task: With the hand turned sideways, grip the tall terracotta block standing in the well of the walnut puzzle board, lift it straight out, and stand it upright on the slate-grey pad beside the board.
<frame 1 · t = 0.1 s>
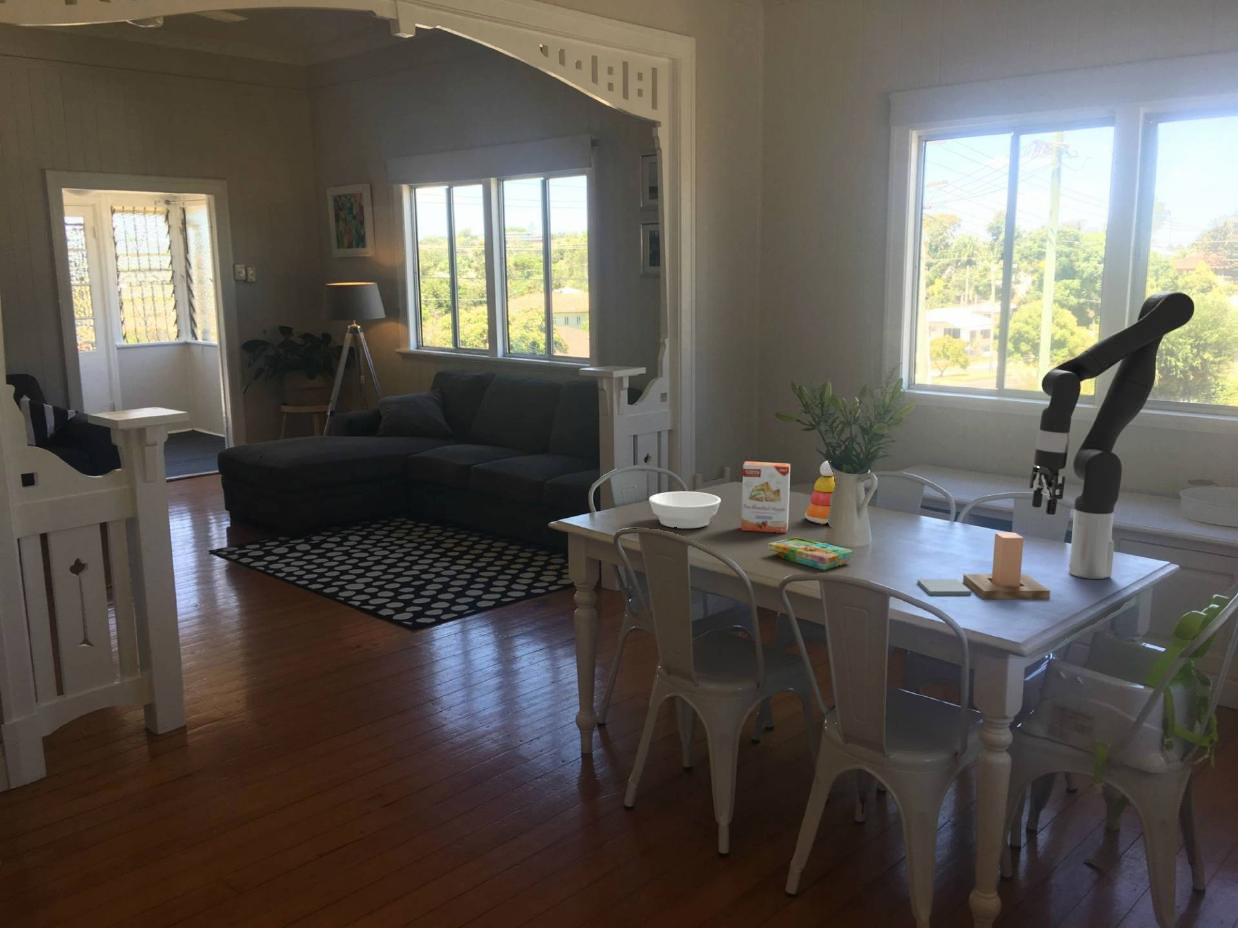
hand: (1043, 510, 259), 17 cm above the table, tool pointing down, fingers open, 8 cm apart
cracker box: (764, 530, 308), on the table
bowl: (684, 525, 316), on the table
puzzle game: (809, 561, 276), on the table
stacking toy: (827, 521, 321), on the table
terracotta block: (1005, 590, 249), resting in walnut puzzle board
walnut puzzle board: (1005, 589, 249), on the table
slate pad: (943, 588, 250), on the table
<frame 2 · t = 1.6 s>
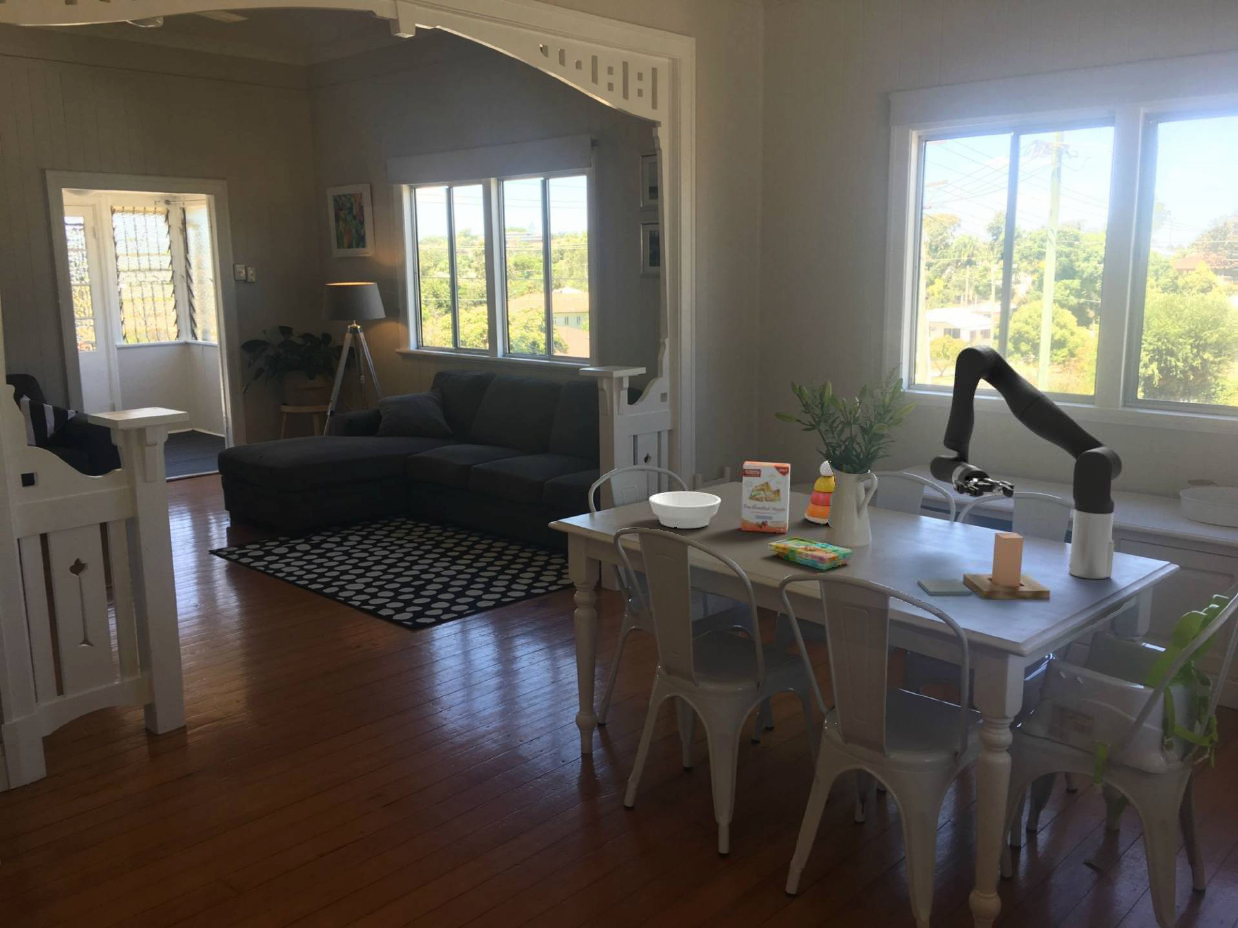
hand: (994, 493, 256), 22 cm above the table, tool horizontal, fingers open, 8 cm apart
nothing on the table moved.
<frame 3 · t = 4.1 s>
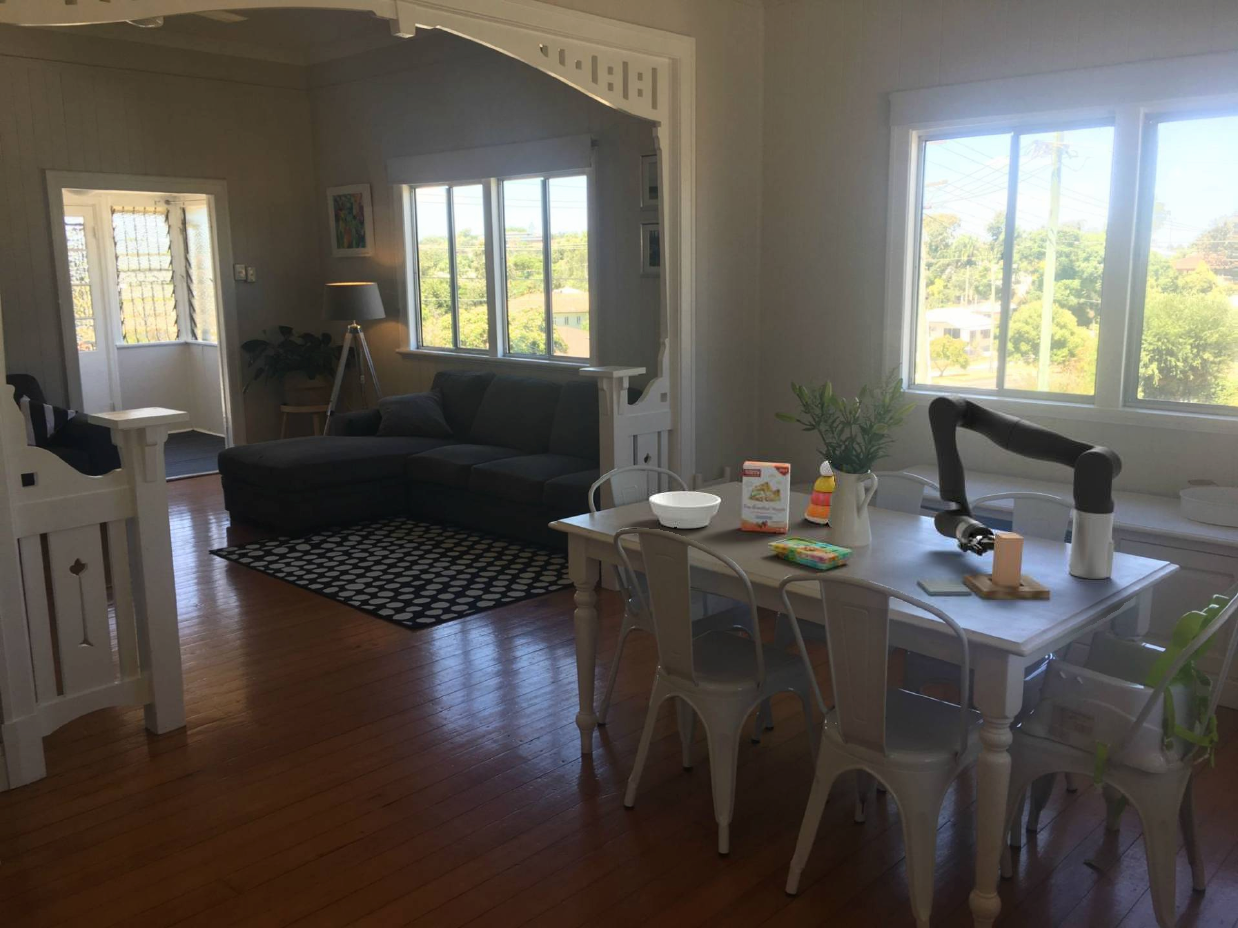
hand: (998, 552, 254), 8 cm above the table, tool horizontal, fingers open, 8 cm apart
nothing on the table moved.
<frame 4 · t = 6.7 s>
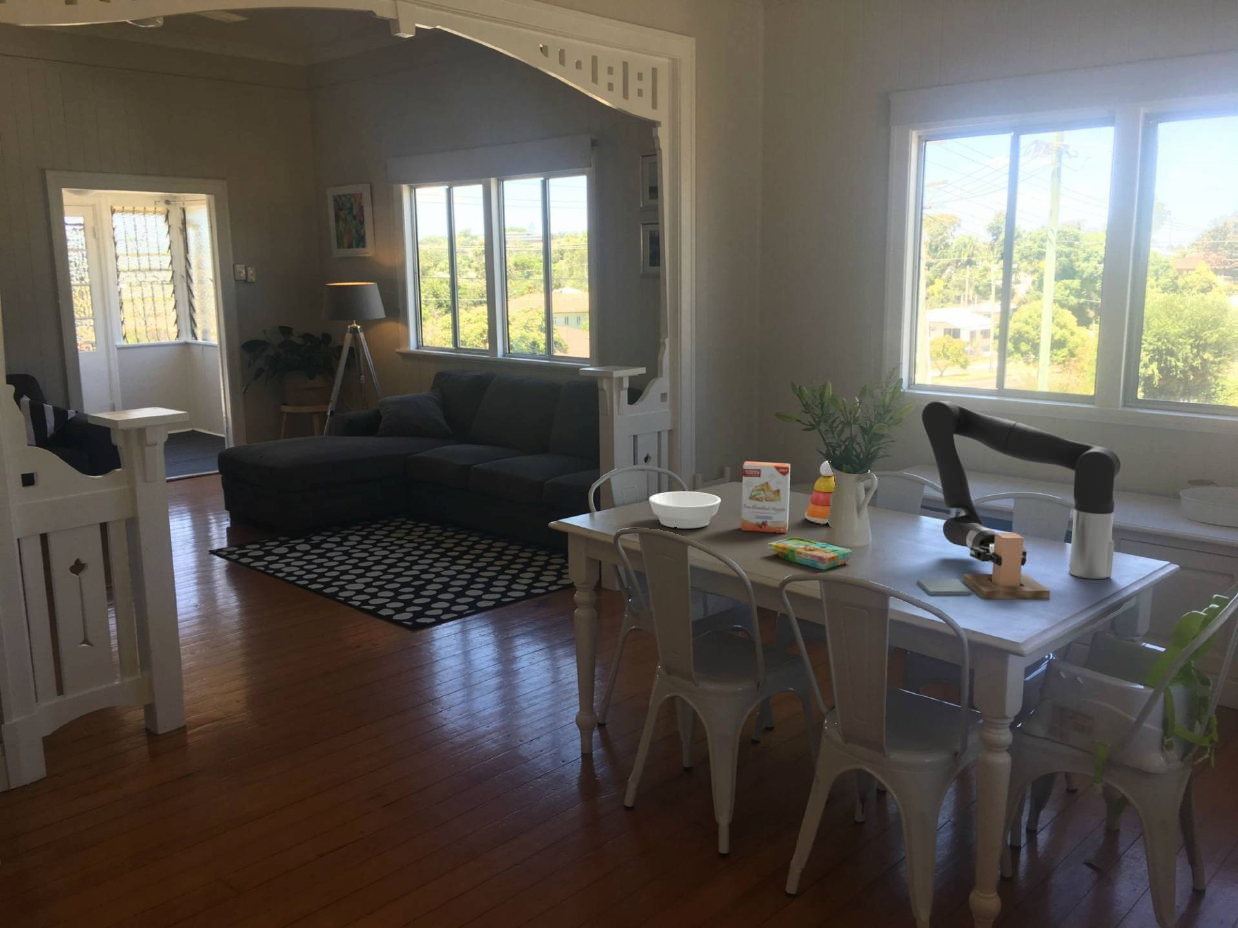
hand: (1011, 561, 245), 8 cm above the table, tool horizontal, fingers closed on terracotta block, 5 cm apart
terracotta block: (1005, 589, 249), resting in walnut puzzle board, touching gripper
everything else where it was.
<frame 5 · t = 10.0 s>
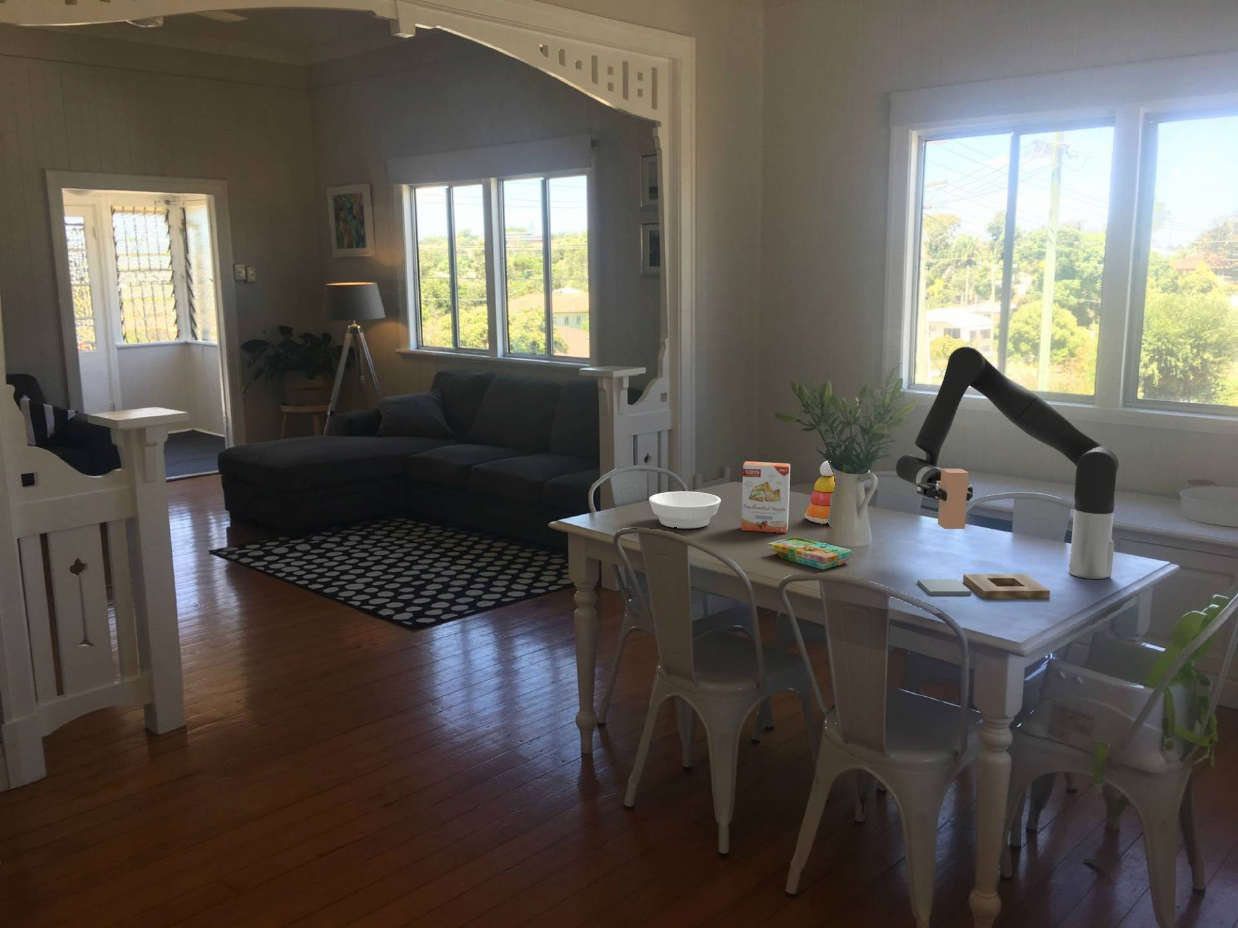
hand: (956, 496, 243), 24 cm above the table, tool horizontal, fingers closed on terracotta block, 5 cm apart
terracotta block: (951, 526, 247), point 16 cm above the table, touching gripper
everything else where it was.
when the fingers open (10 cm above the table, at t = 13.7 s): terracotta block drops 1 cm, resting on slate pad.
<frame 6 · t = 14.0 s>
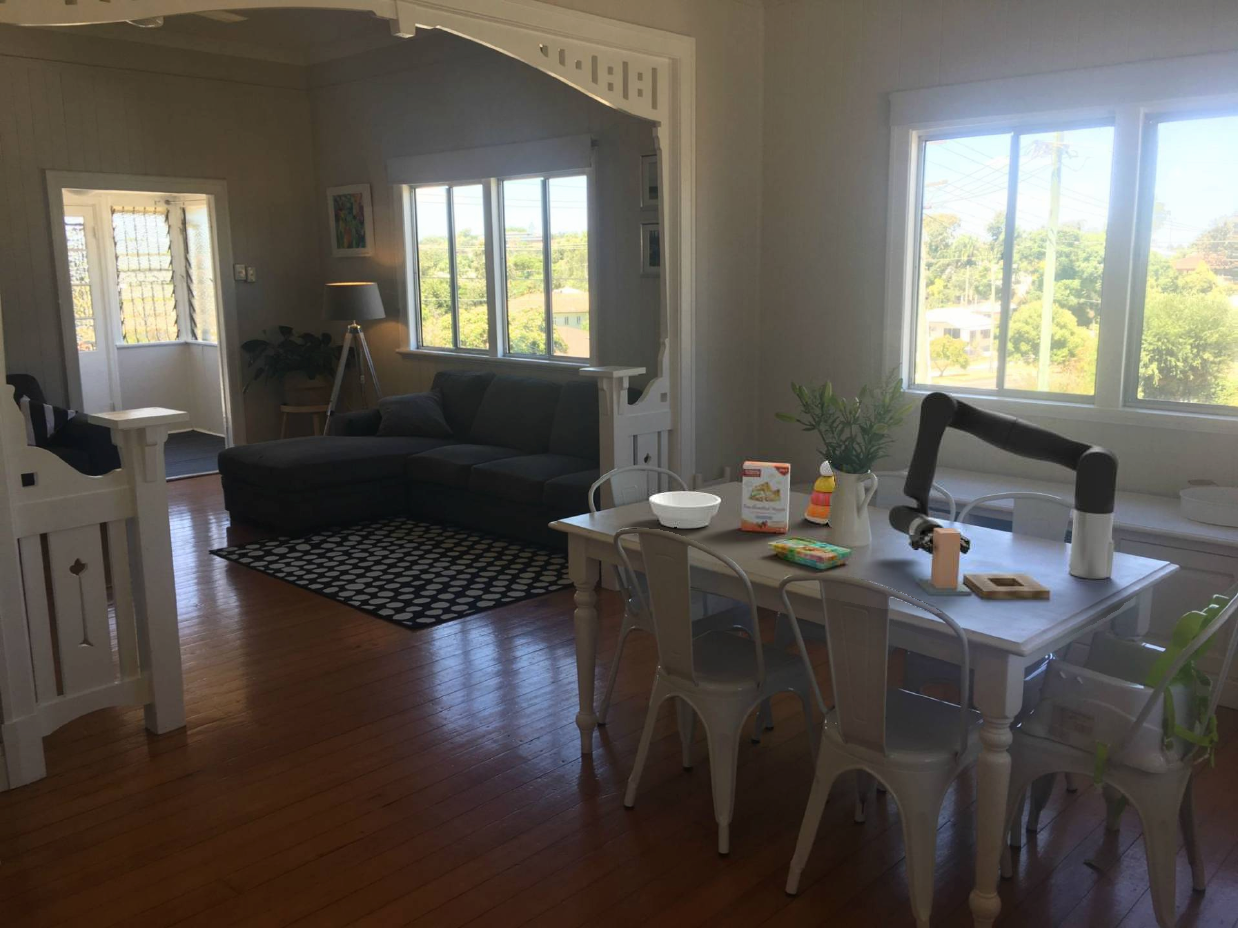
hand: (948, 550, 246), 11 cm above the table, tool horizontal, fingers open, 8 cm apart
terracotta block: (943, 585, 250), point 1 cm above the table, touching slate pad
everything else where it was.
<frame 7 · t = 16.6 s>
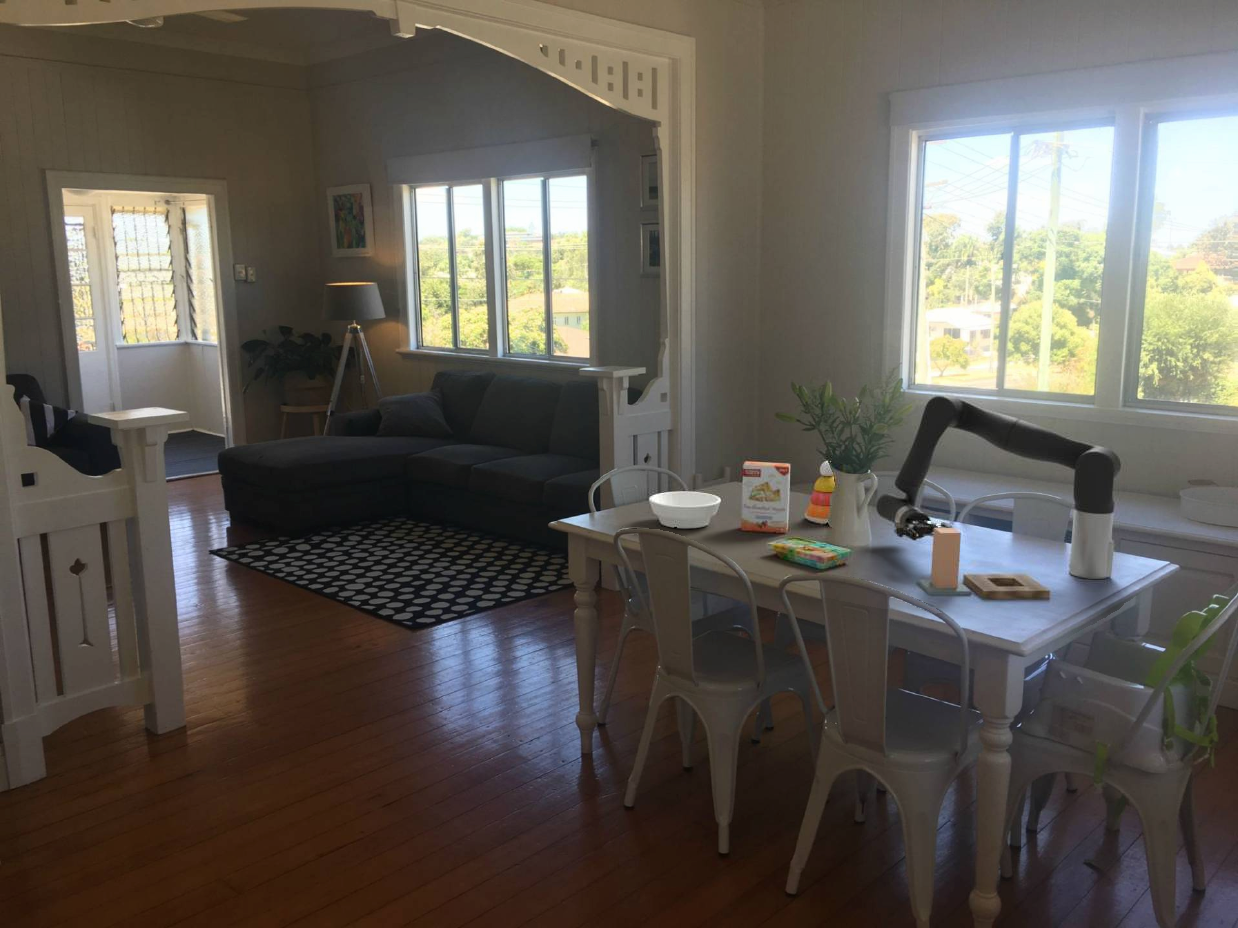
hand: (931, 536, 259), 11 cm above the table, tool horizontal, fingers open, 8 cm apart
nothing on the table moved.
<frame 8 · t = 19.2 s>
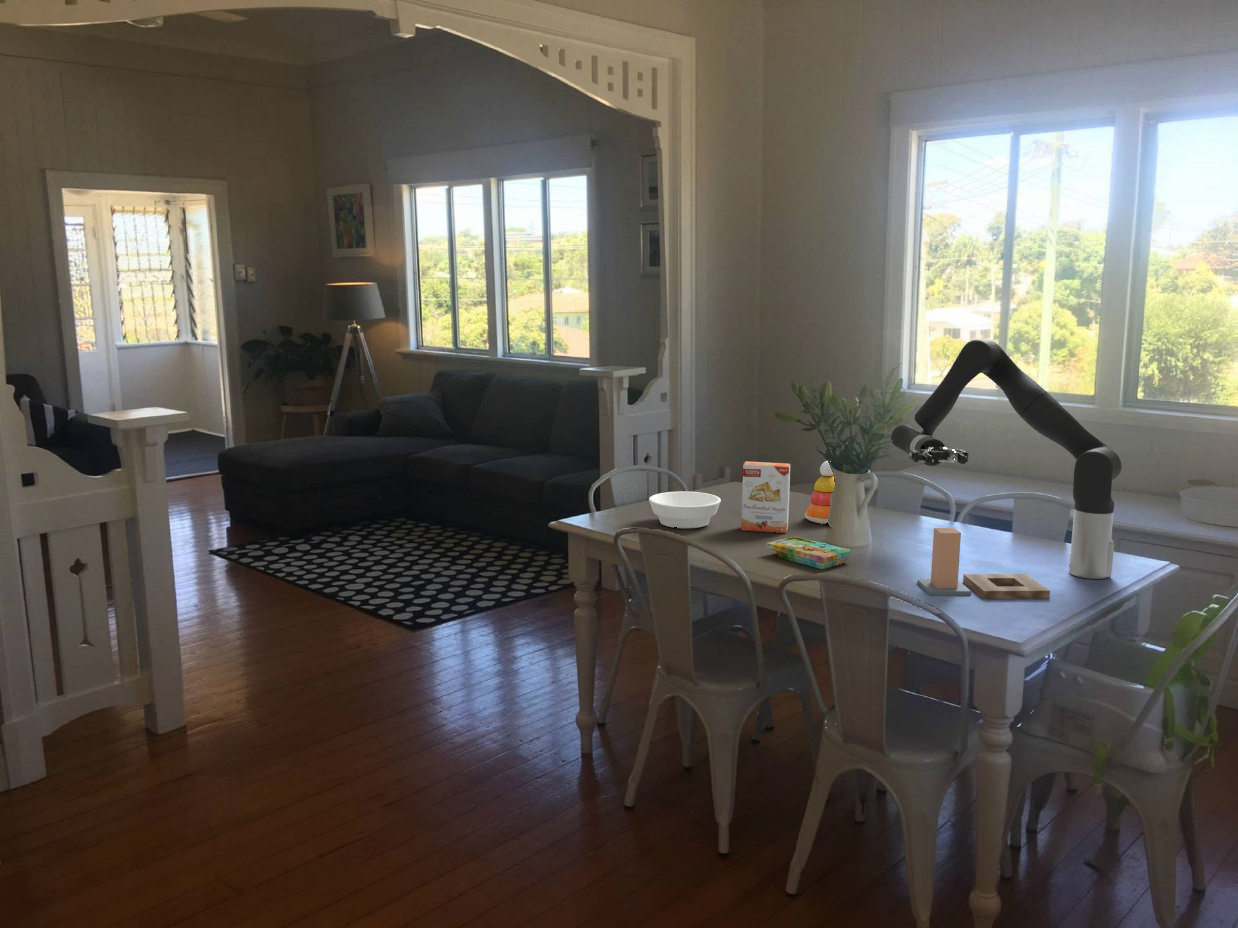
hand: (947, 460, 259), 30 cm above the table, tool horizontal, fingers open, 8 cm apart
nothing on the table moved.
at the end: terracotta block 0.0 cm from the slate pad (horizontally); terracotta block tilted 0°; the gripper is holding nothing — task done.
